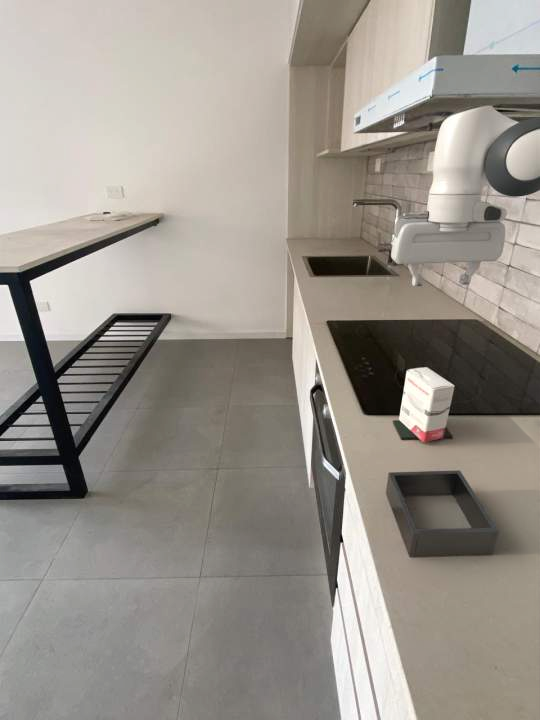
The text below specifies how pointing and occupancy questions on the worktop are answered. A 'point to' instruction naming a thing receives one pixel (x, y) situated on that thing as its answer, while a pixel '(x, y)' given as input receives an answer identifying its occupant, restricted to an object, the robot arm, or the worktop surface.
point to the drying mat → (409, 435)
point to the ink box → (426, 403)
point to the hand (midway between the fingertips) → (440, 284)
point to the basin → (441, 540)
